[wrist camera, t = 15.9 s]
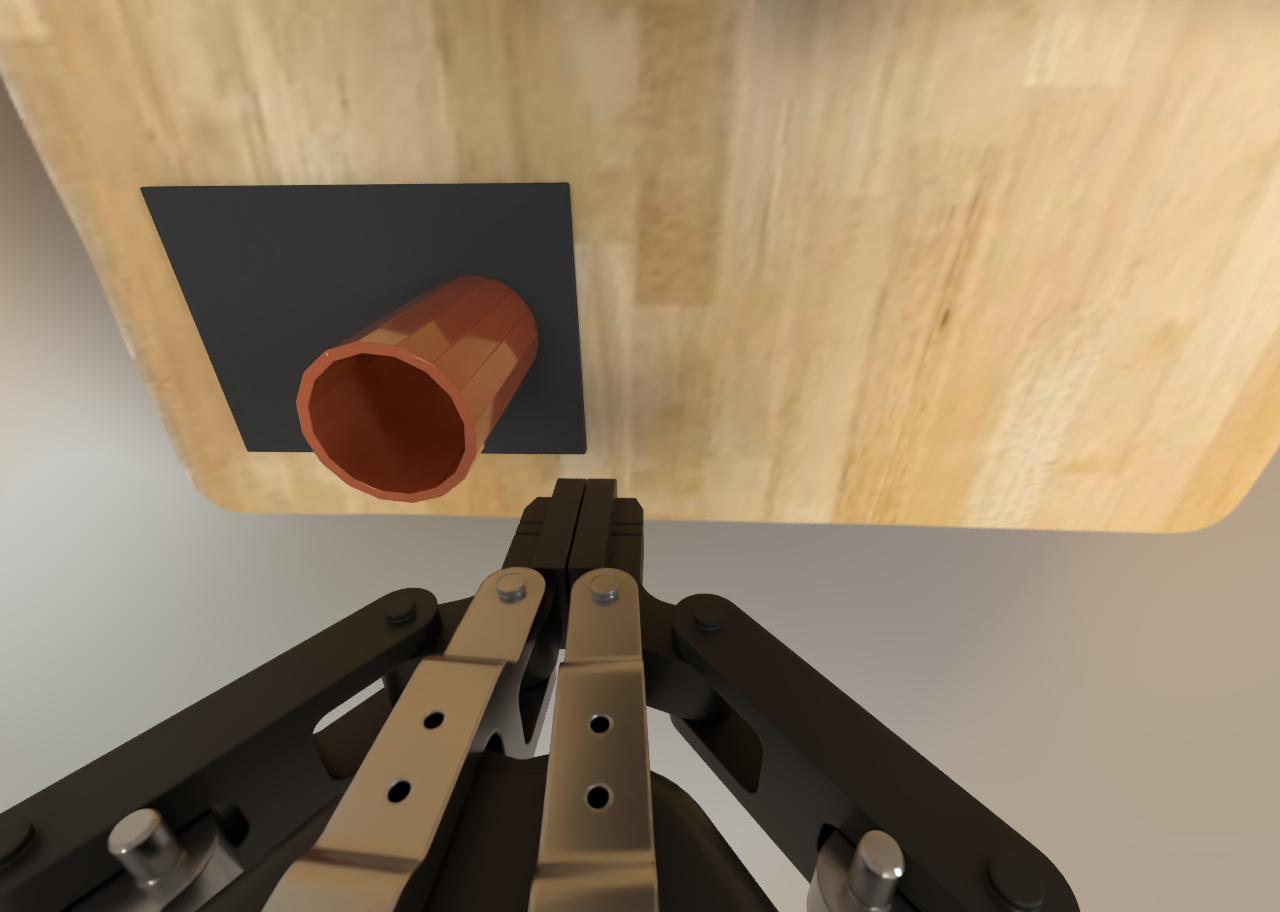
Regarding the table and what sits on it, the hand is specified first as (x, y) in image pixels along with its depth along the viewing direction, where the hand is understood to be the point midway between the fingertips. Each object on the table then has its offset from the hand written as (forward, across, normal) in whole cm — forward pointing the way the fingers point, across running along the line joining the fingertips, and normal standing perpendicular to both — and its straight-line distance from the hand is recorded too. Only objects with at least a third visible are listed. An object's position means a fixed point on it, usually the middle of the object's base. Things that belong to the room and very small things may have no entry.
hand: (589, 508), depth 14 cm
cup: (+16, +7, 0) cm, 17 cm away
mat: (+16, +12, 0) cm, 20 cm away
